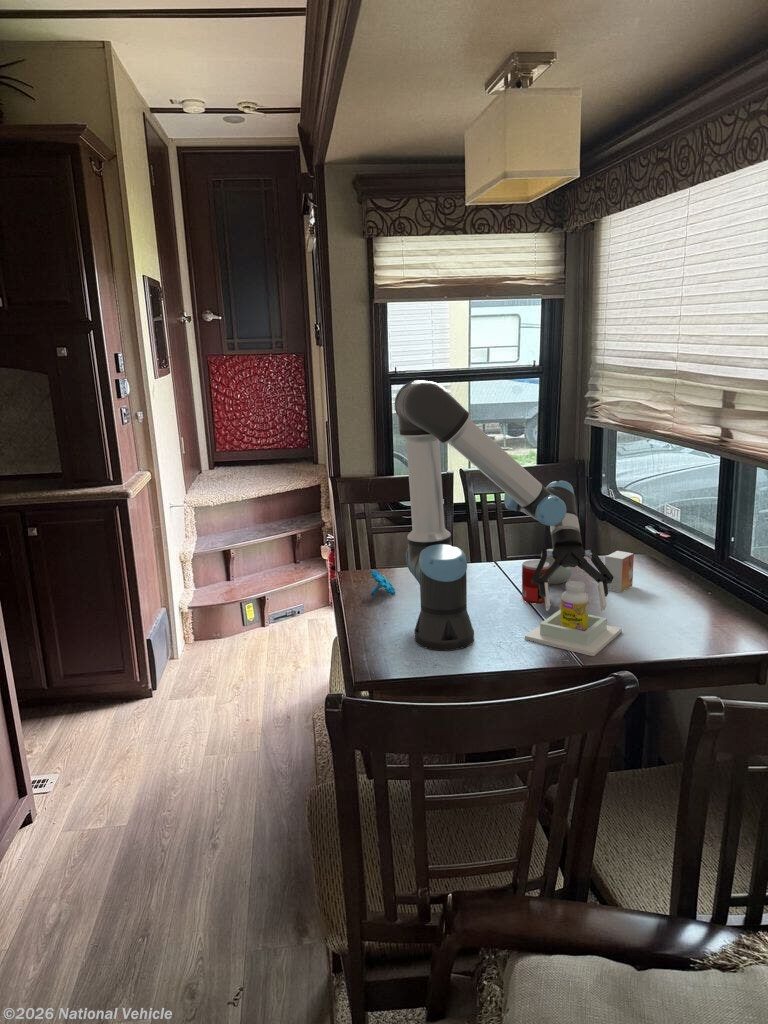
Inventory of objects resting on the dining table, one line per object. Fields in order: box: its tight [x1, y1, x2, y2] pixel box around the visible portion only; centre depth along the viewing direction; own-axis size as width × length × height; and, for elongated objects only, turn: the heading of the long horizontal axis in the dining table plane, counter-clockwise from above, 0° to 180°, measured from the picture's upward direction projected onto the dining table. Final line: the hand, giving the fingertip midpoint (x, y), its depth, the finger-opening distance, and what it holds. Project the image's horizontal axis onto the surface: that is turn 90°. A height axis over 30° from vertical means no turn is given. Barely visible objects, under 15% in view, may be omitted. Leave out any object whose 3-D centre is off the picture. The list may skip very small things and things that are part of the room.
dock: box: [524, 608, 622, 657], centre depth 174 cm, size 18×18×4 cm
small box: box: [604, 550, 635, 593], centre depth 208 cm, size 8×6×10 cm
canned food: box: [521, 559, 551, 605], centre depth 200 cm, size 8×8×11 cm
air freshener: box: [545, 548, 572, 585], centre depth 216 cm, size 11×8×10 cm
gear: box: [370, 569, 397, 595], centre depth 211 cm, size 11×6×10 cm
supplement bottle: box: [560, 580, 590, 631], centre depth 173 cm, size 7×7×13 cm
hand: (576, 608), depth 171 cm, fingers open, 13 cm apart
